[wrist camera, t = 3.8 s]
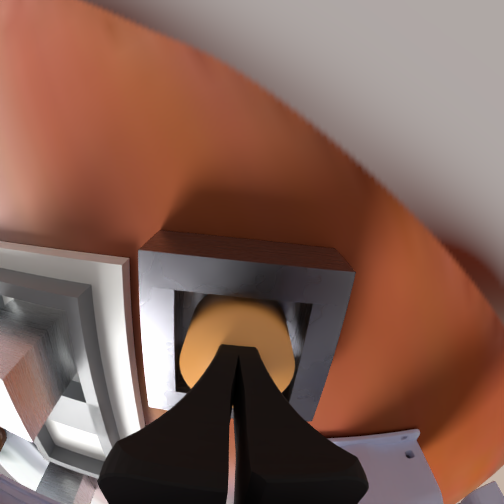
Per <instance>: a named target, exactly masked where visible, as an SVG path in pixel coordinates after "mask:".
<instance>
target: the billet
mask: <svg viewBox="0 0 504 504" xmlns="http://www.w3.org/2000/svg"><path fill="white" fill-rule="evenodd" d="M36 492H37V493H39V494H42V495H44V496H46V497H48V498H50V499H53V500H55V501H57V502H60V503H62V504H90V503H91V500H92V498H93V495H94V492H95V489H94V487H93V485H92V483H91V482H90V480H89V478H88V476H87V475H85V474H82V473H79V472H76V471H73V470H71V469H68V468H65V467H63V466H60V465H58V464H55V463H53V462H50V463H49V465H48V467H47V469H46V471H45V473H44V475H43V477H42V479H41V481H40V483H39V485H38V487H37V490H36Z"/></svg>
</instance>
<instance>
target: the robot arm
mask: <svg viewBox="0 0 504 504" xmlns="http://www.w3.org/2000/svg"><path fill="white" fill-rule="evenodd" d="M232 407H233V417H234V433H235V448H236V469H235V491H234V504H443V498H442V494H441V491H440V488H439V486H438V484H437V482H436V480H435V478H434V475H433V473H432V471H431V469H430V467H429V465H428V463H427V461H426V459H425V456H424V454H423V452H422V450H421V448H420V446H419V444H418V442H417V438H418V437H419V435H420V431H419V429H412V430H406V431H399V432H392V433H385V434H376V435H367V436H356V437H343V438H326V437H324V436H323V435H321V434H320V433H319V432H318V431H317V430H316V429H314V428H313V427H312V426H311V425H310V424H309V423H307V422H306V421H305V420H304V419H303V418H302V417H301V416H300V415H299V414H298V413H297V411H296V410H295V409H294V408H293V407H292V406H291V405H290V403H289V402H288V401H287V400H286V398H285V397H284V396H283V394H282V393H281V392H280V390H279V389H278V387H277V386H276V384H275V383H274V381H273V379H272V378H271V376H270V374H269V373H268V371H267V369H266V367H265V365H264V363H263V361H262V359H261V357H260V354H259V352H258V349H257V348H256V347H248V346H236V345H226V344H221V345H220V346H219V348H218V350H217V352H216V354H215V356H214V358H213V360H212V361H211V363H210V365H209V366H208V368H207V369H206V371H205V372H204V373H203V375H202V376H201V377H200V379H199V380H198V381H197V382H196V384H195V385H194V386H193V387H192V388H191V389H190V391H189V392H188V393H187V394H186V395H185V396H184V397H183V398H182V399H181V400H180V401H179V402H178V403H176V404H175V405H174V406H173V407H172V408H171V409H169V410H168V411H167V412H166V413H164V414H163V415H162V416H161V417H159V418H158V419H156V420H155V421H153V422H152V423H150V424H149V425H147V426H145V427H144V428H142V429H141V430H139V431H137V432H135V433H133V434H131V435H129V436H127V437H125V438H123V439H121V440H119V441H117V442H116V443H115V444H114V446H113V447H112V449H111V450H110V452H109V454H108V456H107V457H106V459H105V461H104V463H103V466H102V469H101V472H100V474H99V477H98V480H97V482H98V485H99V488H100V489H101V491H102V493H103V495H104V496H105V498H106V500H107V501H108V503H109V504H226V500H227V493H228V473H229V424H230V419H231V413H232ZM0 504H62V503H60V502H57V501H55V500H53V499H50V498H48V497H46V496H44V495H42V494H39V493H37V492H35V491H33V490H31V489H29V488H27V487H25V486H23V485H21V484H19V483H17V482H15V481H14V480H12V479H10V478H8V477H6V476H5V475H3V474H1V473H0ZM458 504H504V496H503V494H502V492H501V491H500V489H499V487H498V485H497V483H496V482H495V481H493V482H491V483H488V484H486V485H484V486H482V487H480V488H478V489H476V490H474V491H472V492H471V493H470V494H468V495H467V496H466V497H465V498H464V499H463V500H462V501H461V503H458Z"/></svg>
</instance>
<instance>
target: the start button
mask: <svg viewBox="0 0 504 504" xmlns="http://www.w3.org/2000/svg"><path fill="white" fill-rule="evenodd" d="M221 344H226V345H236V346H248V347H256V348H257V349H258V352H259V354H260V357H261V359H262V361H263V363H264V365H265V367H266V369H267V371H268V373H269V374H270V376H271V378H272V379H273V381H274V383H275V384H276V386H277V387H278V389H279V390H280V392H281V393H282V392H283V391H284V390H285V389H286V388H287V386H288V385H289V383H290V382H291V380H292V377H293V374H294V370H295V360H294V355H293V350H292V345H291V340H290V336H289V331H288V326H287V322H286V317H285V314H284V312H283V310H282V308H281V306H280V305H279V304H278V302H277V301H276V300H264V299H254V298H243V297H233V296H224V295H215V294H208V295H206V296H205V297H204V298H203V299H202V300H201V301H200V302H199V303H198V305H197V307H196V308H195V310H194V313H193V316H192V319H191V322H190V325H189V328H188V331H187V334H186V337H185V341H184V344H183V347H182V350H181V354H180V362H179V363H180V370H181V374H182V376H183V378H184V380H185V382H186V383H187V385H188V386H189V387H190V388H192V387H193V386H194V385H195V384H196V382H197V381H198V380H199V379H200V377H201V376H202V375H203V373H204V372H205V371H206V369H207V368H208V366H209V365H210V363H211V361H212V360H213V358H214V356H215V354H216V352H217V350H218V348H219V346H220V345H221ZM232 408H233V407H232Z"/></svg>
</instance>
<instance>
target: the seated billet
mask: <svg viewBox="0 0 504 504" xmlns="http://www.w3.org/2000/svg"><path fill="white" fill-rule="evenodd" d="M77 372H78V370H77V366H76V362H75V358H74V353H73V349H72V344H71V339H70V334H69V329H68V324H67V318H66V312H65V311H62V310H58V309H53V308H49V307H45V306H40V305H36V304H32V303H28V302H24V301H20V300H17V299H12V300H11V301H10V302H8V303H7V304H6V305H4V306H3V307H2V308H1V309H0V427H2V428H4V429H6V430H8V431H10V432H12V433H14V434H16V435H18V436H20V437H22V438H24V439H26V440H29V441H31V442H33V441H34V440H35V438H36V436H37V434H38V433H39V431H40V429H41V428H42V426H43V425H44V423H45V421H46V420H47V418H48V416H49V415H50V413H51V412H52V410H53V408H54V407H55V405H56V404H57V402H58V401H59V399H60V397H61V396H62V394H63V393H64V391H65V390H66V388H67V387H68V385H69V384H70V382H71V381H72V379H73V378H74V376H75V375H76V373H77Z"/></svg>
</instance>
